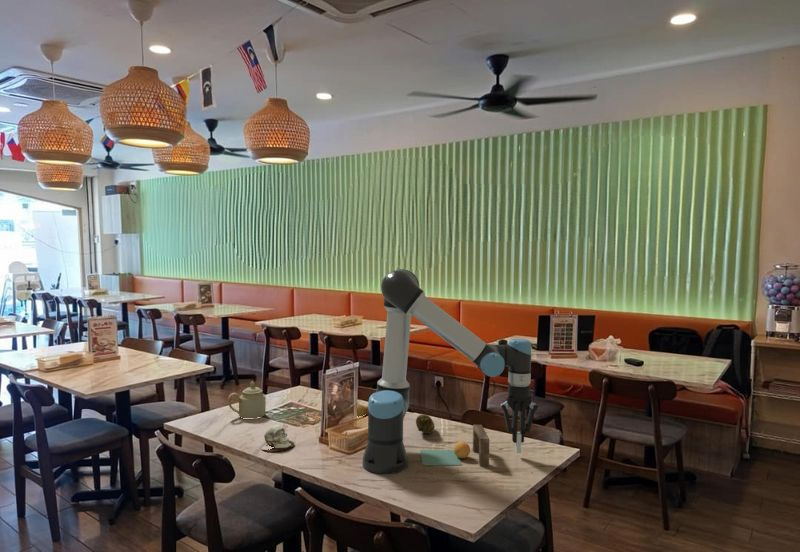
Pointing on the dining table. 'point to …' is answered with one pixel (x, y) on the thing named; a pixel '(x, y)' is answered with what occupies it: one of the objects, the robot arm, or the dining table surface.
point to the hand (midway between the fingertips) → (517, 451)
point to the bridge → (481, 444)
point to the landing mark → (439, 457)
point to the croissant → (361, 410)
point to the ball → (461, 449)
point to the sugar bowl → (250, 402)
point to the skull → (277, 438)
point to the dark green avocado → (425, 423)
